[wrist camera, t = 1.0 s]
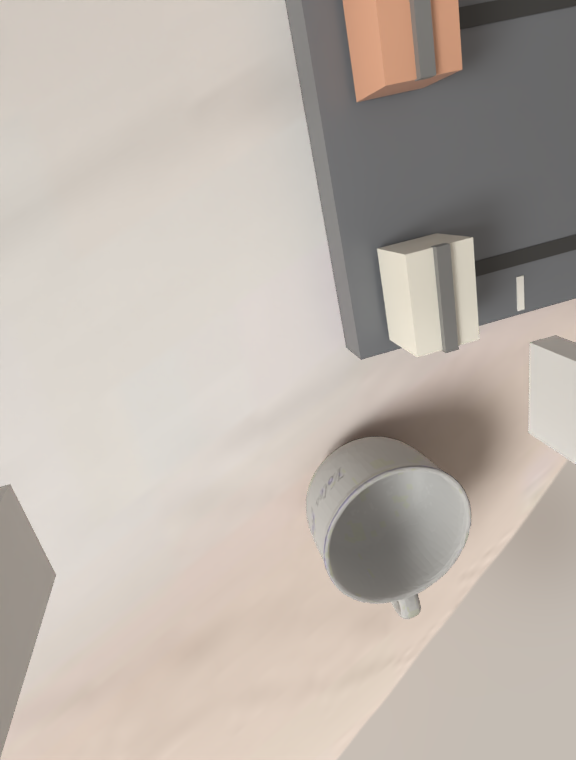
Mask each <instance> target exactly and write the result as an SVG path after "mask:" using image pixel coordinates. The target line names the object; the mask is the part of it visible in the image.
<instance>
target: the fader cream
mask: <svg viewBox="0 0 576 760" xmlns="http://www.w3.org/2000/svg"><path fill="white" fill-rule="evenodd" d="M377 253H378V260H379V267H380V274H381V282H382V289H383V296H384V303H385V310H386V318H387V325H388V332H389V339H390V340H391V341H392V342H394V343H395V344H397V345H398V346H400V347H402V348H403V349H405V350H406V351H408V352H410V353H411V354H413V355H414V356H416V357H417V358H418V357H421V356H424V355H428V354H431V353H435V352H438V351H443V352H445V353H448V352H451V351H455V350H458V349H459V347H458V346H459V345H462V344H466V343H469V342H473V341H476V340H479V324H478V308H477V292H476V276H475V260H474V244H473V237H467V236H458V235H449V234H440V233H435V234H432V235H428V236H424V237H420V238H416V239H412V240H408V241H404V242H400V243H397V244H393V245H389V246H385V247H381V248H377Z"/></svg>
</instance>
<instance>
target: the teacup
mask: <svg viewBox="0 0 576 760" xmlns="http://www.w3.org/2000/svg"><path fill="white" fill-rule="evenodd" d="M306 516H307V521H308V525H309V528H310V531H311V534H312V537H313V539H314V542H315V544H316V546H317V548H318V550H319V552H320V555H321V557H322V559H323V560H324V564H325V568H326V570H327V572H328V575H329V577H330V579H331V580H332V582H333V583H334V585H335V586H336V587H337V588H338V589H339V590H340V591H341V592H342V593H343V594H345V595H347V596H349V597H351V598H352V599H354V600H357V601H361V602H364V603H374V604H380V603H389V602H391V603H392V605H393V607H394V609H395V610H396V612H397V613H398V615H399V616H400V617H401V618H403V619H410V618H413V617H415V616H417V615H418V614H419V613H420V610H421V606H420V601H419V598H418V593H420V592H422V591H423V590H425V589H426V588H428V587H429V586H431V585H432V584H433V583H435V582H436V581H437V580H439V579H440V578H441V577H442V576H443V575H444V574H446V572H447V571H448V570H449V569H450V568H451V567H452V565H453V564H454V563H455V561H456V560H457V558H458V557H459V555H460V553H461V551H462V550H463V548H464V546H465V543H466V541H467V538H468V535H469V529H470V526H471V507H470V502H469V499H468V497H467V495H466V492H465V491H464V489H463V487H462V486H461V485H460V484H459V482H458V481H457V480H456V479H454V478H453V477H452V476H451V475H449V474H447V473H446V472H444V471H442V470H441V469H439V468H438V467H437V466H436V465H435V464H434V463H432V462H431V461H430V460H429V459H427V458H426V457H425V456H424V455H422V454H421V453H420V452H418V451H417V450H415V449H414V448H412V447H411V446H409V445H407V444H405V443H403V442H401V441H399V440H396V439H392V438H387V437H365V438H361V439H357V440H354V441H351V442H349V443H347V444H345V445H343V446H341V447H339V448H338V449H337V450H335V451H334V452H333V453H331V454H330V455H329V456H328V457H327V458H326V459H325V460H324V461H323V462H322V463H321V465H320V466H319V467H318V469H317V470H316V472H315V474H314V475H313V477H312V479H311V482H310V485H309V488H308V491H307V497H306Z"/></svg>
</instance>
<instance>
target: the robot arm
mask: <svg viewBox="0 0 576 760" xmlns="http://www.w3.org/2000/svg"><path fill="white" fill-rule="evenodd" d="M528 433H529V434H531V435H532V436H534V437H535V438H537V439H538V440H540V441H541V442H543V443H544V444H546V445H547V446H549V447H550V448H552V449H553V450H555V451H556V452H558V453H559V454H561V455H562V456H564V457H565V458H567V459H568V460H570V461H571V462H573V463H574V464H576V343H575V342H572V341H570V340H567V339H564V338H561V337H559V336H556V335H555V336H552V337H548V338H544V339H541V340H537V341H533V342H530V358H529V423H528ZM55 577H56V574H55V572H54V570H53V568H52V566H51V564H50V562H49V560H48V558H47V556H46V554H45V552H44V550H43V548H42V546H41V544H40V542H39V540H38V538H37V536H36V534H35V532H34V530H33V528H32V526H31V524H30V522H29V520H28V518H27V516H26V514H25V512H24V511H23V509H22V507H21V505H20V503H19V501H18V499H17V497H16V495H15V493H14V491H13V489H12V487H11V485H10V484H9V485H5V486H2V487H0V757H1V754H2V750H3V747H4V744H5V741H6V737H7V734H8V731H9V728H10V724H11V721H12V718H13V714H14V711H15V708H16V705H17V701H18V698H19V695H20V691H21V688H22V685H23V682H24V678H25V675H26V672H27V668H28V665H29V662H30V659H31V655H32V652H33V649H34V646H35V642H36V639H37V636H38V632H39V629H40V626H41V623H42V619H43V616H44V613H45V609H46V606H47V603H48V600H49V596H50V593H51V590H52V586H53V583H54V580H55Z"/></svg>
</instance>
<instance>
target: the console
mask: <svg viewBox="0 0 576 760" xmlns="http://www.w3.org/2000/svg"><path fill="white" fill-rule="evenodd" d="M285 2H286V8H287V13H288V19H289V25H290V30H291V36H292V42H293V47H294V53H295V59H296V64H297V70H298V76H299V81H300V87H301V93H302V98H303V104H304V110H305V115H306V121H307V127H308V132H309V138H310V144H311V149H312V155H313V161H314V166H315V172H316V178H317V183H318V189H319V195H320V200H321V206H322V212H323V217H324V223H325V229H326V235H327V240H328V246H329V252H330V257H331V263H332V269H333V274H334V280H335V286H336V291H337V297H338V303H339V308H340V314H341V320H342V325H343V331H344V337H345V342H346V348H348V349H349V350H350V351H351V352H352V353H354V354H355V355H356V356H357V357H358V358H360V359H365V358H368V357H372V356H375V355H379V354H382V353H386V352H389V351H393V350H396V349H400V348H402V347H400V346H398V345H397V344H395V343H394V342H392V341H391V340H390V339H389V332H388V325H387V318H386V310H385V303H384V296H383V289H382V282H381V274H380V267H379V260H378V253H377V248H381V247H385V246H389V245H393V244H397V243H400V242H404V241H408V240H412V239H416V238H420V237H424V236H428V235H432V234H435V233H440V234H449V235H458V236H467V237H473V244H474V260H475V276H476V292H477V308H478V324H479V326H480V325H484V324H487V323H491V322H494V321H498V320H501V319H505V318H508V317H512V316H515V315H519V314H522V313H526V312H529V311H533V310H536V309H540V308H543V307H547V306H550V305H554V304H557V303H561V302H564V301H568V300H571V299H575V298H576V0H458V6H459V22H460V38H461V53H462V70H460V71H458V72H456V73H454V74H452V75H450V76H448V77H446V78H443V79H441V80H439V81H437V82H435V83H433V84H431V85H429V86H427V87H424V88H421V89H416V90H412V91H407V92H402V93H398V94H393V95H389V96H384V97H379V98H375V99H370V100H365V101H361V102H357V101H356V94H355V87H354V80H353V73H352V65H351V58H350V51H349V44H348V37H347V29H346V22H345V15H344V8H343V0H285Z"/></svg>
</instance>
